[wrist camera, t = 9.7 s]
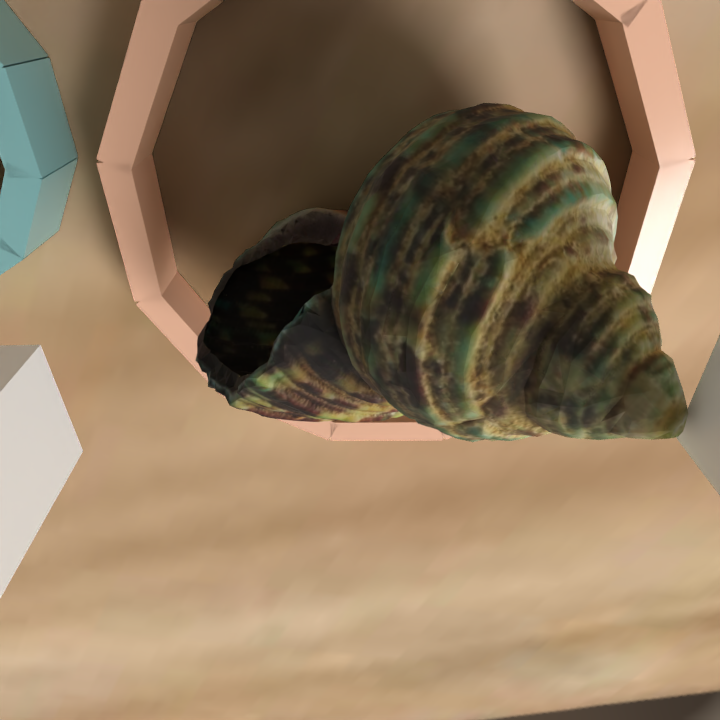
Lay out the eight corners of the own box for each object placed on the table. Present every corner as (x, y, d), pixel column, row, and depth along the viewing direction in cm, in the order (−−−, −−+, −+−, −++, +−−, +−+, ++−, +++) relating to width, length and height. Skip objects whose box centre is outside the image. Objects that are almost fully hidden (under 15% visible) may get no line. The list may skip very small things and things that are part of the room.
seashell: (279, -9, 15) (146, 20, 7) (636, 126, 17) (855, 275, 9) (222, 300, 21) (114, 503, 13) (486, 378, 23) (534, 603, 15)
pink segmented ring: (185, 410, 24) (172, 441, 23) (55, -120, 14) (15, -134, 12) (585, 409, 24) (601, 439, 23) (745, -125, 14) (796, -139, 12)
